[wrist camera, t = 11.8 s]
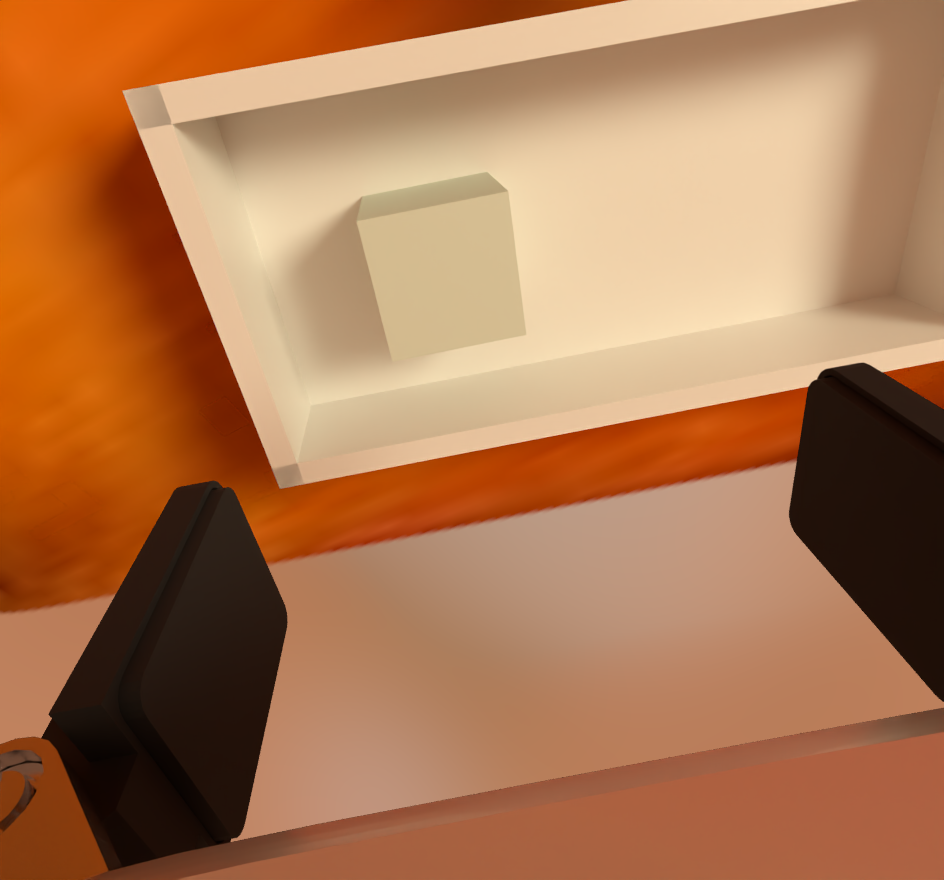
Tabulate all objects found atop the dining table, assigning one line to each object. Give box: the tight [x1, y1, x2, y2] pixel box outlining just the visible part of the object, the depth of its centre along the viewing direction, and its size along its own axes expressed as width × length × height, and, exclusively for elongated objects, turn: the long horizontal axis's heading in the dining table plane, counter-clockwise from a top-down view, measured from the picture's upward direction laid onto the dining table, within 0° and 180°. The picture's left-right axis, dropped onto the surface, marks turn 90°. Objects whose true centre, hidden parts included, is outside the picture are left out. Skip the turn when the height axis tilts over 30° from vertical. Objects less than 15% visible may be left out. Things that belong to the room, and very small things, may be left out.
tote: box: [123, 0, 944, 489], centre depth 23 cm, size 30×14×6 cm, turn 99°
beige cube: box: [356, 172, 526, 362], centre depth 23 cm, size 5×5×5 cm
